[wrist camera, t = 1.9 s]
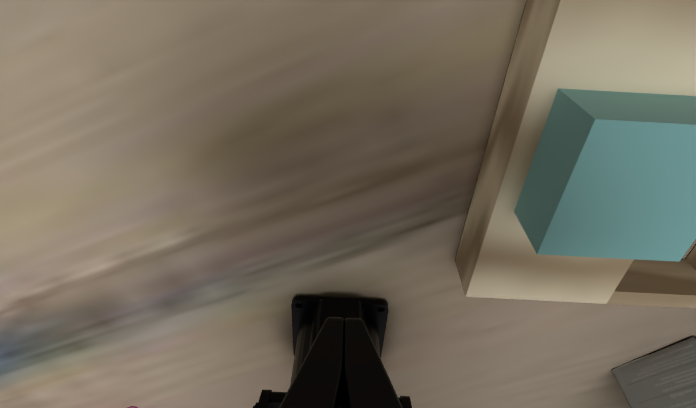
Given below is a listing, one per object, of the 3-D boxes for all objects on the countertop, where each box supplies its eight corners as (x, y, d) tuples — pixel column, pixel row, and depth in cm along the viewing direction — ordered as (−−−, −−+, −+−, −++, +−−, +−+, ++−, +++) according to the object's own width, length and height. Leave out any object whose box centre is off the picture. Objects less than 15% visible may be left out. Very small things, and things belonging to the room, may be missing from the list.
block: (638, 218, 19) (679, 261, 17) (513, 211, 19) (537, 254, 17) (709, 96, 16) (774, 129, 13) (558, 88, 16) (595, 119, 13)
